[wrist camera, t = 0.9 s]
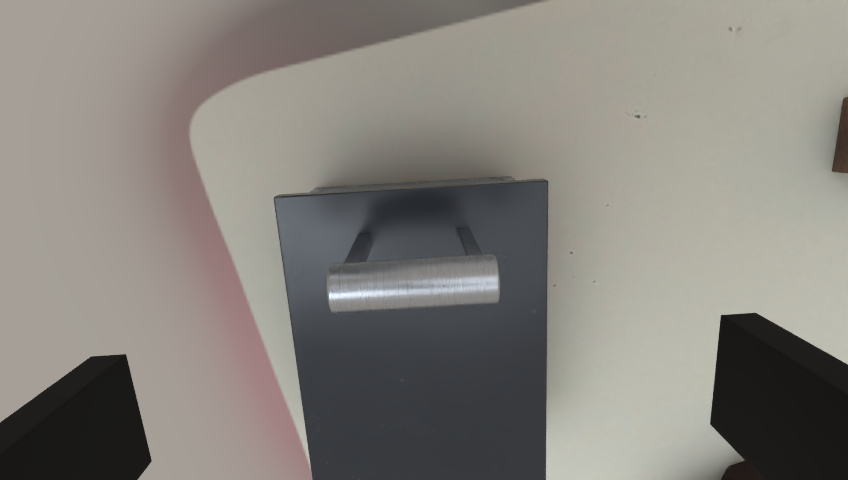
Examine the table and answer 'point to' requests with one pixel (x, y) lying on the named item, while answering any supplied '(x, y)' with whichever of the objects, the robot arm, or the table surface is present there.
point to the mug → (741, 472)
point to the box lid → (420, 329)
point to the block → (842, 142)
